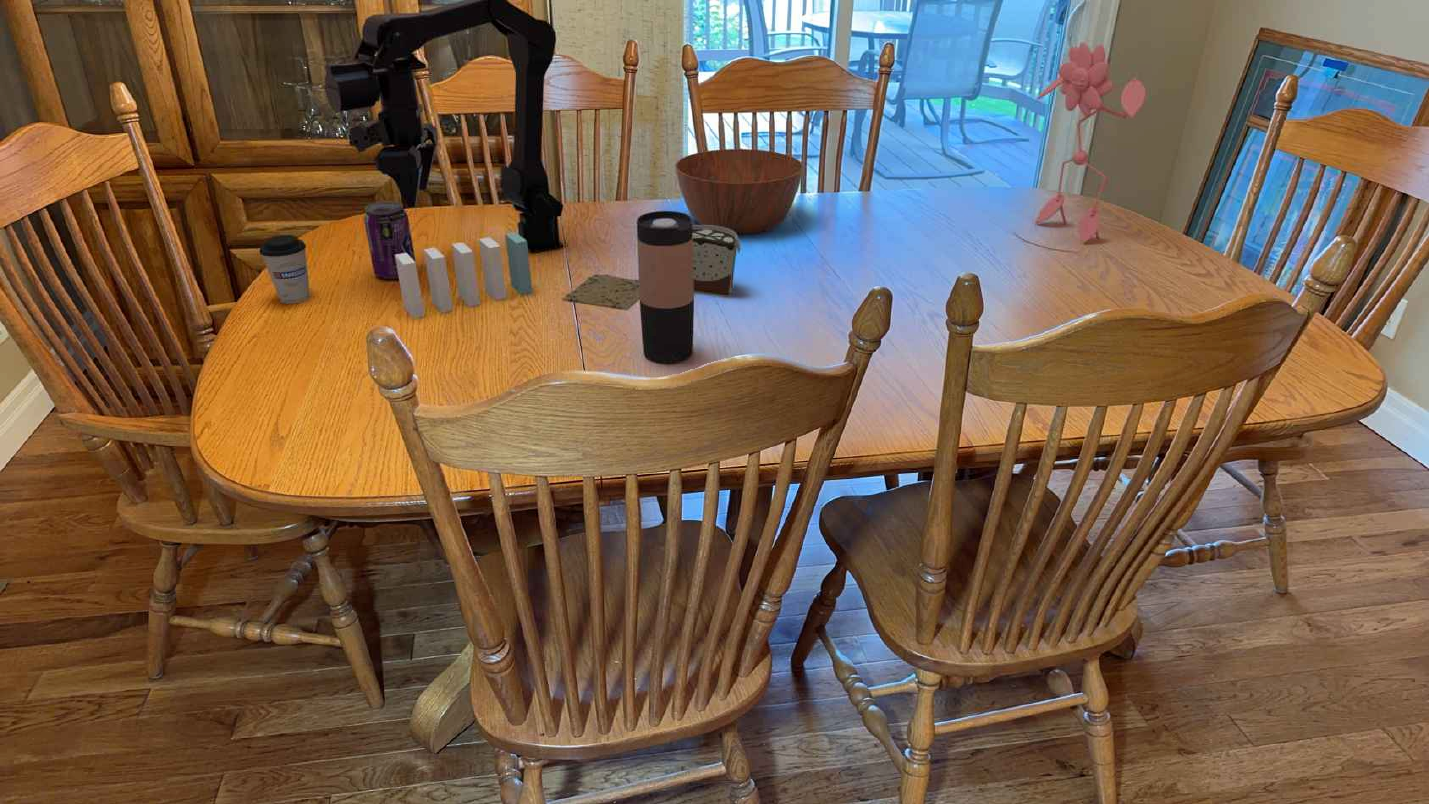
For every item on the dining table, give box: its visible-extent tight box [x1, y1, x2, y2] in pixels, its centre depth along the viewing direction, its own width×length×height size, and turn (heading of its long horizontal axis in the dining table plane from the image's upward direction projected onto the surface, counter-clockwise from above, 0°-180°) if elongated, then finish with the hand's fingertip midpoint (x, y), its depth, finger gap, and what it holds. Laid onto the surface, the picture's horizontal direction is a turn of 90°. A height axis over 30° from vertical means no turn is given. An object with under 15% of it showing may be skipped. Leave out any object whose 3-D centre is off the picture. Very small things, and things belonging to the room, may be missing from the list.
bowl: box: [675, 148, 805, 235], centre depth 182 cm, size 25×25×11 cm
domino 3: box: [451, 242, 481, 308], centre depth 148 cm, size 2×5×9 cm, turn 32°
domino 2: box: [423, 246, 454, 314], centre depth 145 cm, size 2×5×9 cm, turn 32°
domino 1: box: [395, 253, 426, 320], centre depth 143 cm, size 2×5×9 cm, turn 32°
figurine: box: [1012, 42, 1146, 254], centre depth 168 cm, size 15×26×35 cm, turn 23°
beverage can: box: [363, 200, 418, 280], centre depth 157 cm, size 7×7×12 cm
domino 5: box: [504, 232, 533, 296], centre depth 152 cm, size 2×5×9 cm, turn 32°
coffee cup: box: [258, 234, 311, 305], centre depth 148 cm, size 7×7×10 cm
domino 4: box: [478, 236, 508, 302], centre depth 150 cm, size 2×5×9 cm, turn 32°
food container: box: [692, 224, 742, 298], centre depth 152 cm, size 12×6×10 cm, turn 71°
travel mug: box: [636, 210, 695, 365], centre depth 128 cm, size 8×8×20 cm
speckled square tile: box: [561, 274, 640, 311], centre depth 153 cm, size 12×12×1 cm
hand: (417, 198), depth 152 cm, fingers open, 9 cm apart
